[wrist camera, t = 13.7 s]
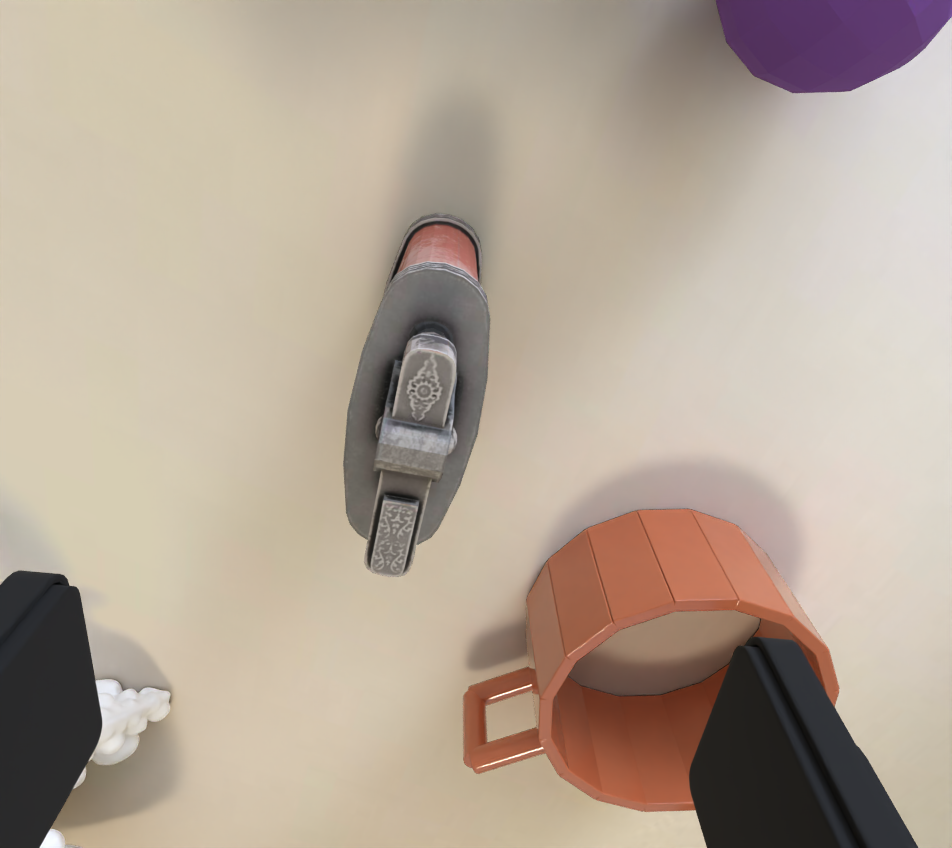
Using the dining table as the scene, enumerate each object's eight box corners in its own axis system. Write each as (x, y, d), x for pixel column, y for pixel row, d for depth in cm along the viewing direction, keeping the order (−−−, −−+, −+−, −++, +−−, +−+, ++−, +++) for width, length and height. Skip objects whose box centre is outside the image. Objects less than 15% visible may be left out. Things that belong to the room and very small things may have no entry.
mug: (742, 471, 27) (804, 556, 23) (798, 659, 32) (860, 764, 27) (411, 590, 30) (402, 692, 25) (508, 750, 34) (516, 862, 29)
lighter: (398, 202, 23) (359, 282, 14) (499, 226, 23) (525, 318, 14) (360, 419, 26) (309, 597, 17) (449, 436, 26) (444, 618, 17)
